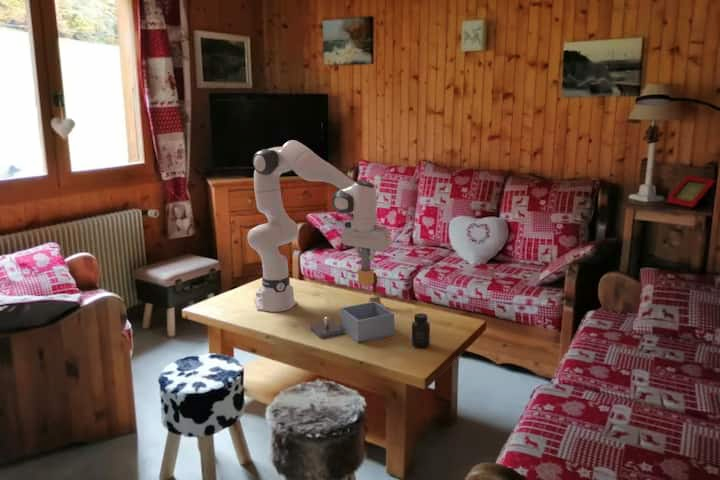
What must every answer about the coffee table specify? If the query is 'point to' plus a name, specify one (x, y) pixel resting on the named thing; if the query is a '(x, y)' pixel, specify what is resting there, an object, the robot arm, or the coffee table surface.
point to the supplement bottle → (420, 331)
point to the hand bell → (374, 296)
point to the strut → (365, 269)
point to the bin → (367, 321)
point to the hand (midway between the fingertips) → (365, 258)
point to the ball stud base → (326, 328)
